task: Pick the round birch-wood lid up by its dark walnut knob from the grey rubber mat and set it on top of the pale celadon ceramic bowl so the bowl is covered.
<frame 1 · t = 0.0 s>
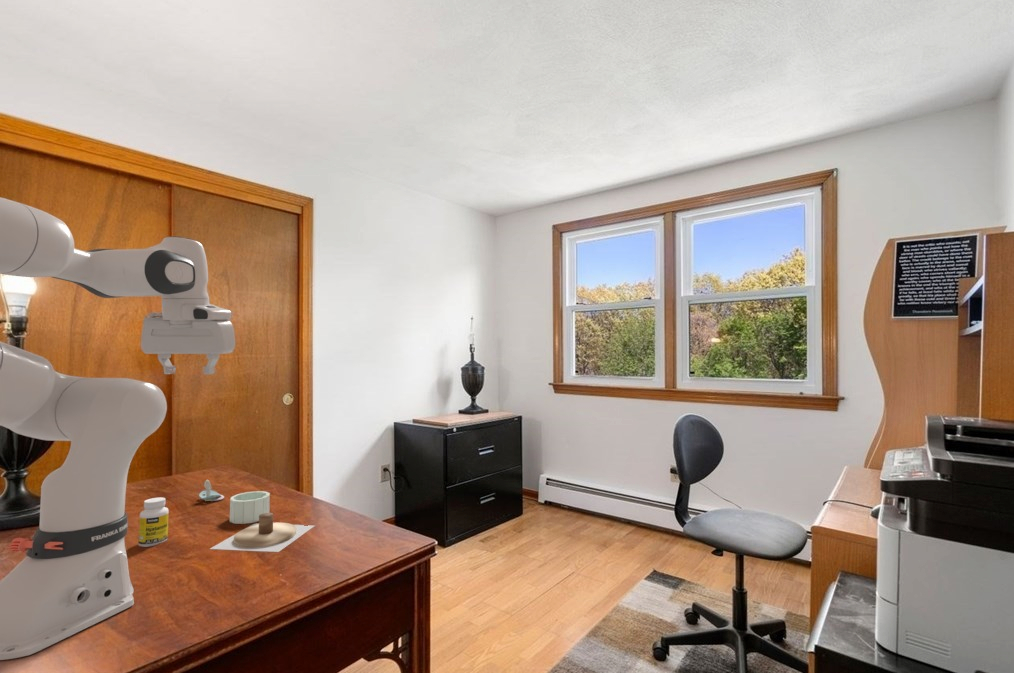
hand: (189, 373, 106), 39 cm above the table, tool pointing down, fingers open, 8 cm apart
lid: (265, 536, 111), resting on mat
mat: (265, 538, 111), on the table
bowl: (249, 519, 124), on the table
supplement bottle: (153, 543, 108), on the table
pacifier: (212, 500, 141), on the table
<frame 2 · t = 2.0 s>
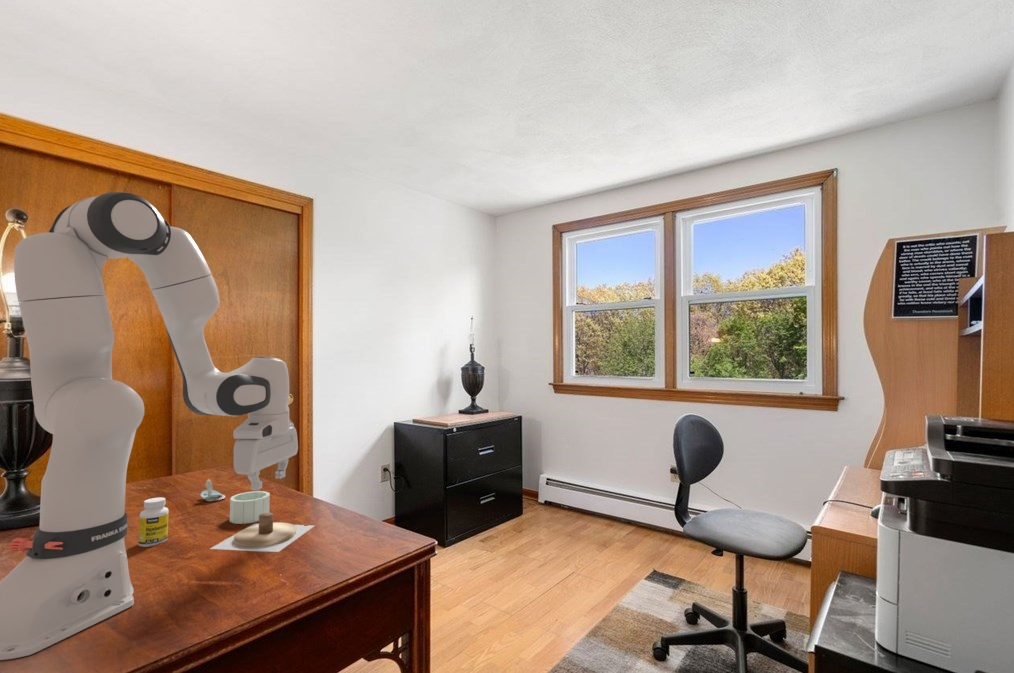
hand: (269, 483, 112), 13 cm above the table, tool pointing down, fingers open, 8 cm apart
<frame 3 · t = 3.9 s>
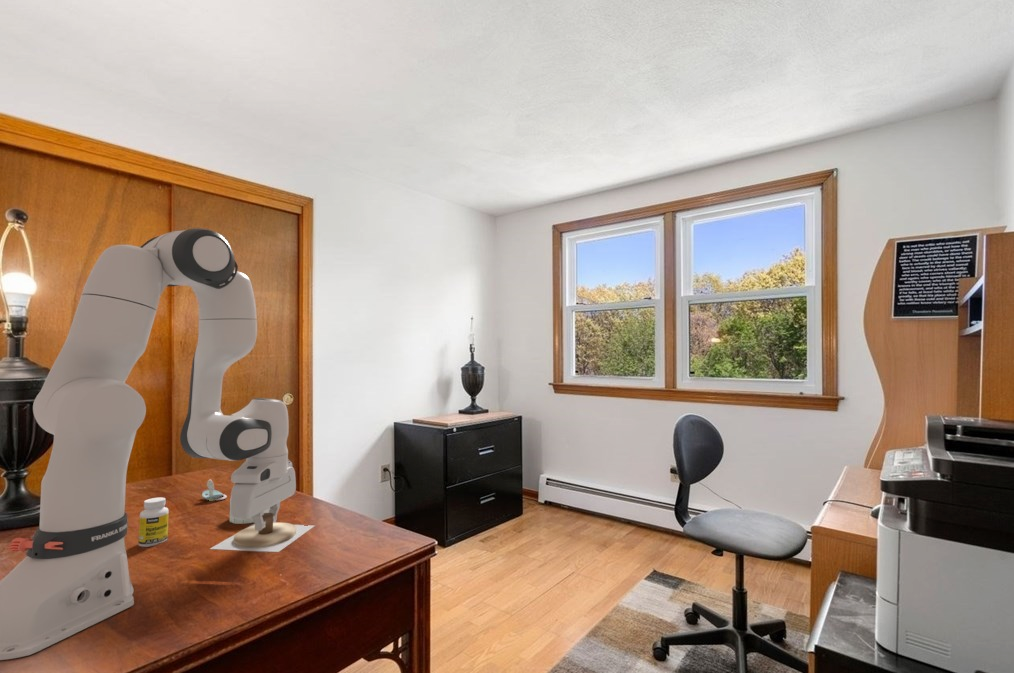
hand: (265, 526, 111), 3 cm above the table, tool pointing down, fingers closed on lid, 3 cm apart
lid: (265, 536, 111), resting on mat, touching gripper
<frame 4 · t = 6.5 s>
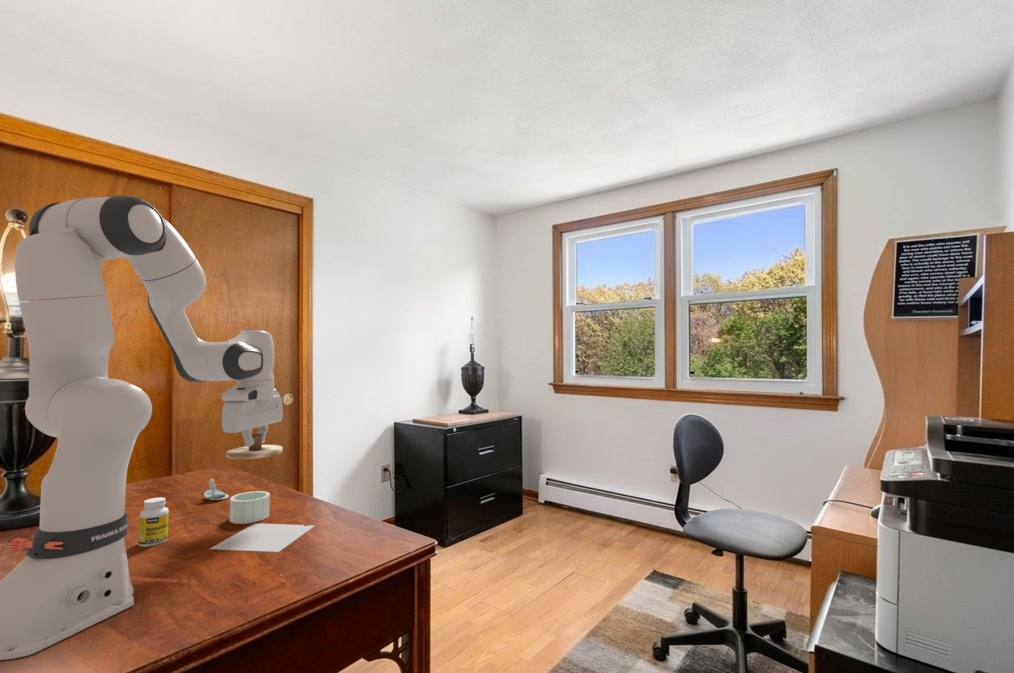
hand: (254, 444, 124), 20 cm above the table, tool pointing down, fingers closed on lid, 3 cm apart
lid: (255, 453, 124), point 17 cm above the table, touching gripper
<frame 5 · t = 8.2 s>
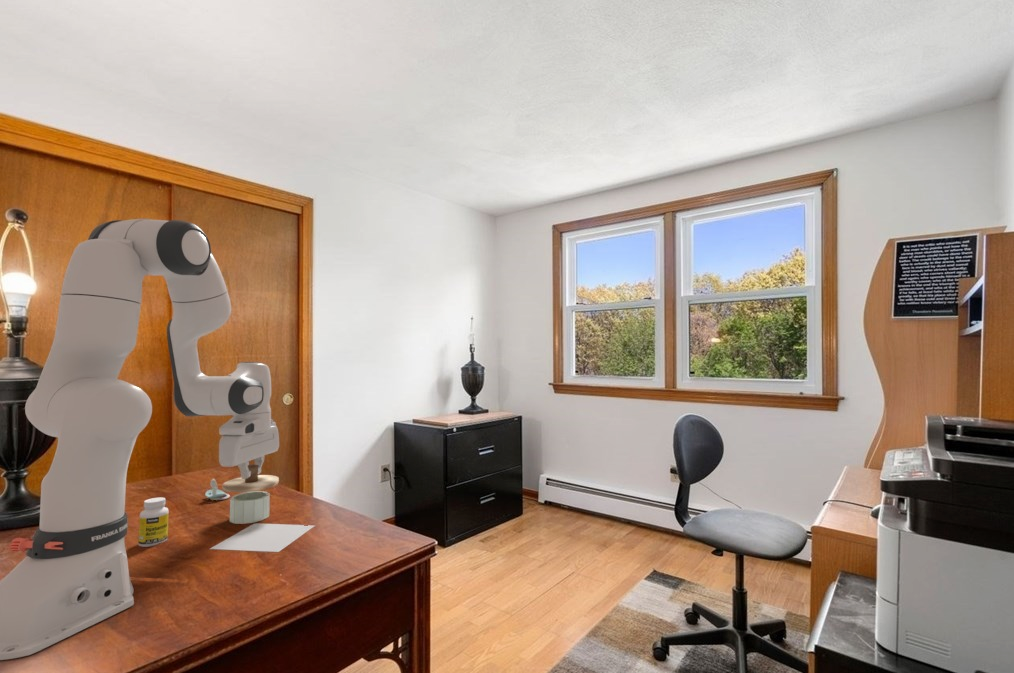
hand: (251, 476, 125), 11 cm above the table, tool pointing down, fingers closed on lid, 3 cm apart
lid: (251, 485, 125), point 9 cm above the table, touching gripper
when the fingers open (10 cm above the table, at t = 9.4 s): lid drops 1 cm, resting on bowl.
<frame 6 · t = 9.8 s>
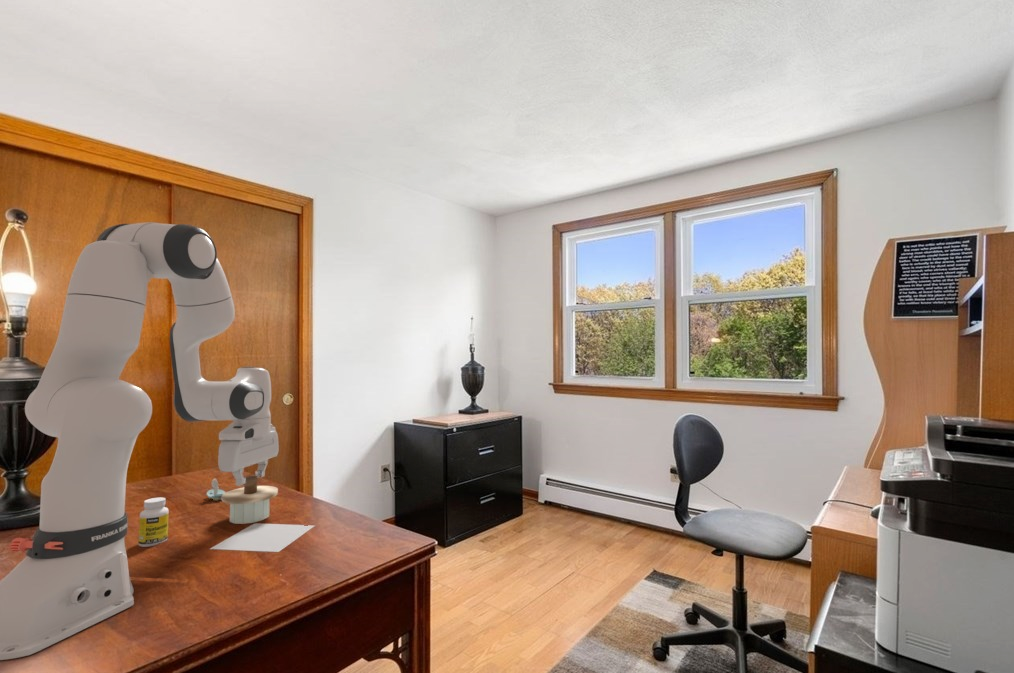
hand: (250, 481, 125), 10 cm above the table, tool pointing down, fingers open, 7 cm apart
lid: (250, 496, 124), point 6 cm above the table, touching bowl
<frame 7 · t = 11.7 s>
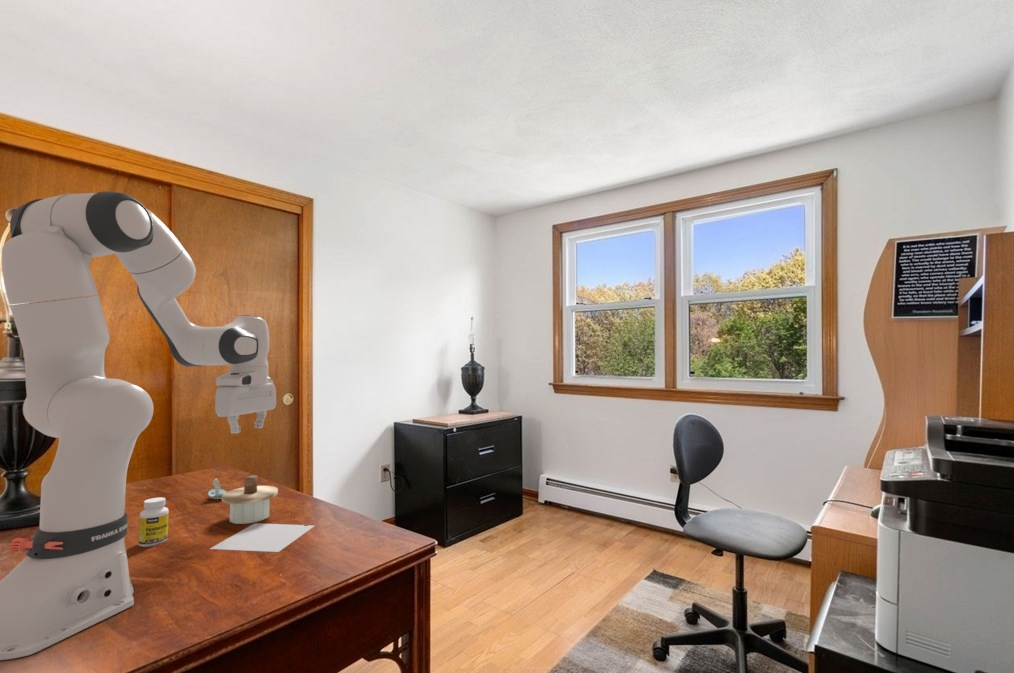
hand: (247, 430, 124), 23 cm above the table, tool pointing down, fingers open, 8 cm apart
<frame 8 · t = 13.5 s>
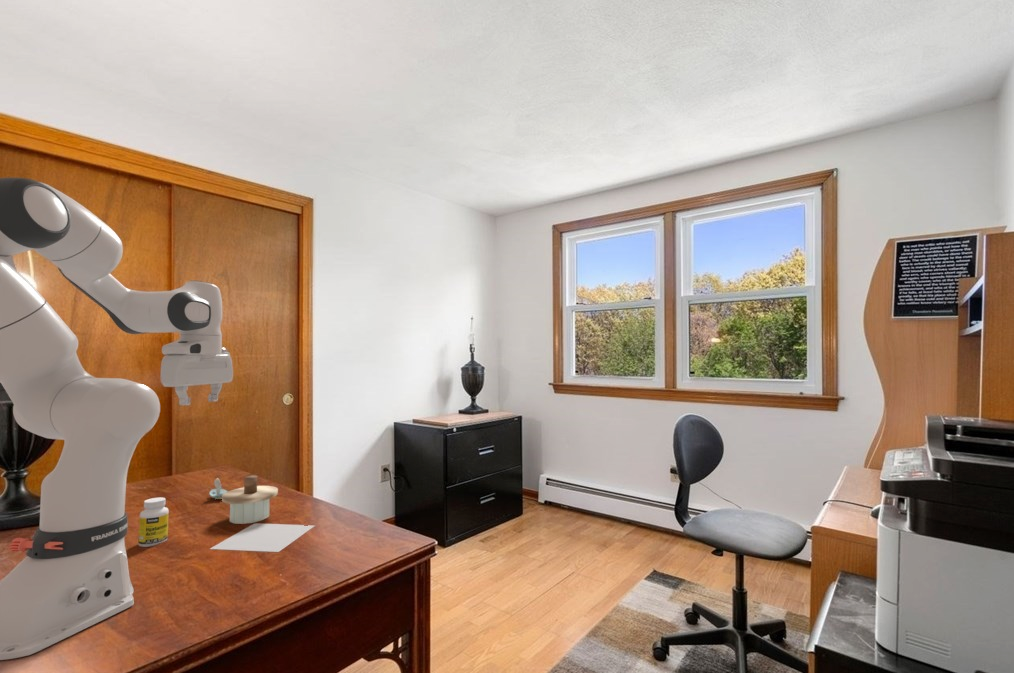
hand: (199, 403, 117), 31 cm above the table, tool pointing down, fingers open, 8 cm apart
at the end: lid 0.1 cm off-centre on the bowl, point 6.0 cm above the bowl's base; lid tilted 0°; the gripper is holding nothing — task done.
